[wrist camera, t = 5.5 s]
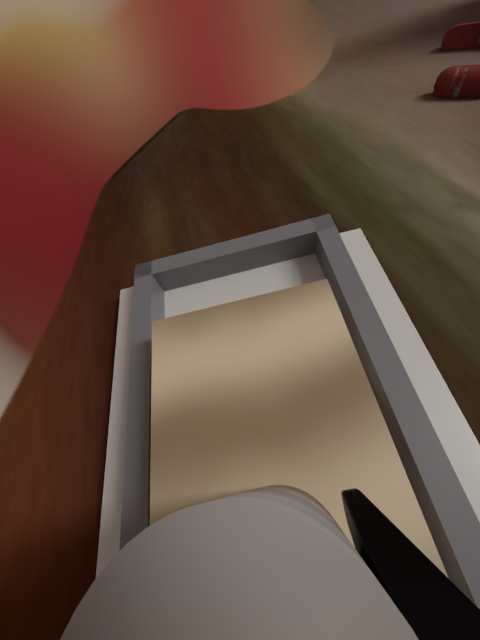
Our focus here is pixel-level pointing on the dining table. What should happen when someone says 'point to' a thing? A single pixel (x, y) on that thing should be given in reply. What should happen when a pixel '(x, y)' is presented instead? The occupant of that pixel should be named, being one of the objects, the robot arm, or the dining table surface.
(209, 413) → the cylinder on cream base
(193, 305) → the bay
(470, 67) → the pliers
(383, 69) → the dining table surface
